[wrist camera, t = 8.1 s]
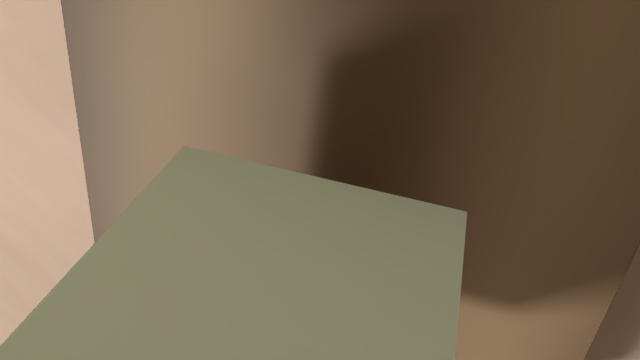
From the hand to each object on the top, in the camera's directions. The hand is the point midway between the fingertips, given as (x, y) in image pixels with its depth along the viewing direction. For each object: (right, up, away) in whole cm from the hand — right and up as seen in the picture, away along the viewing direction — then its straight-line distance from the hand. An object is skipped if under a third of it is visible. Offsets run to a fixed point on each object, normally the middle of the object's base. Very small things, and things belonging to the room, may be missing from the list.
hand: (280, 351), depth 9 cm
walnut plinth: (+2, +3, +5) cm, 7 cm away
